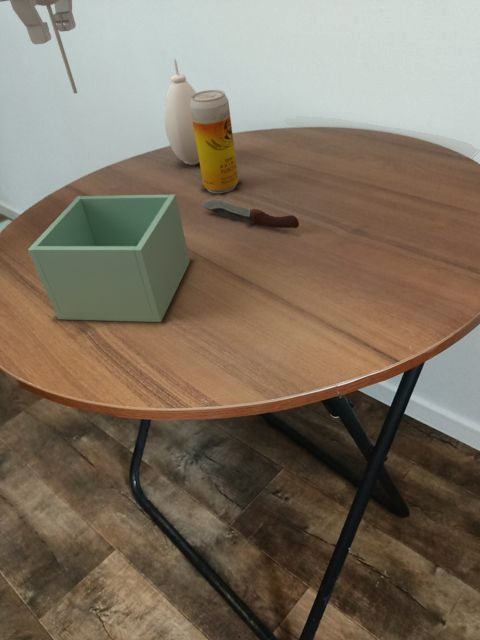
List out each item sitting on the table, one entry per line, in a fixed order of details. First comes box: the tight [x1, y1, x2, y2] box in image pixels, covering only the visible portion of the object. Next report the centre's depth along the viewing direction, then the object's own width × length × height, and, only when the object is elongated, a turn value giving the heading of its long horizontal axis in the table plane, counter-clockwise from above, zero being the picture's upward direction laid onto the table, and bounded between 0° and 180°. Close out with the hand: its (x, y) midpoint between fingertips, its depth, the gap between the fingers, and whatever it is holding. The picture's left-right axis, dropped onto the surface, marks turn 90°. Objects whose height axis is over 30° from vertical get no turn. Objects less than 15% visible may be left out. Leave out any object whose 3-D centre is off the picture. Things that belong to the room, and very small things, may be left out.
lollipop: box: [36, 0, 78, 94], centre depth 59 cm, size 6×6×15 cm
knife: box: [200, 198, 300, 229], centre depth 79 cm, size 18×2×3 cm, turn 55°
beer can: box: [190, 89, 239, 194], centre depth 86 cm, size 6×6×15 cm
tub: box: [27, 194, 191, 323], centre depth 66 cm, size 14×14×10 cm
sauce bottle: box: [163, 58, 200, 166], centre depth 94 cm, size 8×8×18 cm
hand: (55, 36), depth 60 cm, fingers closed on lollipop, 5 cm apart
